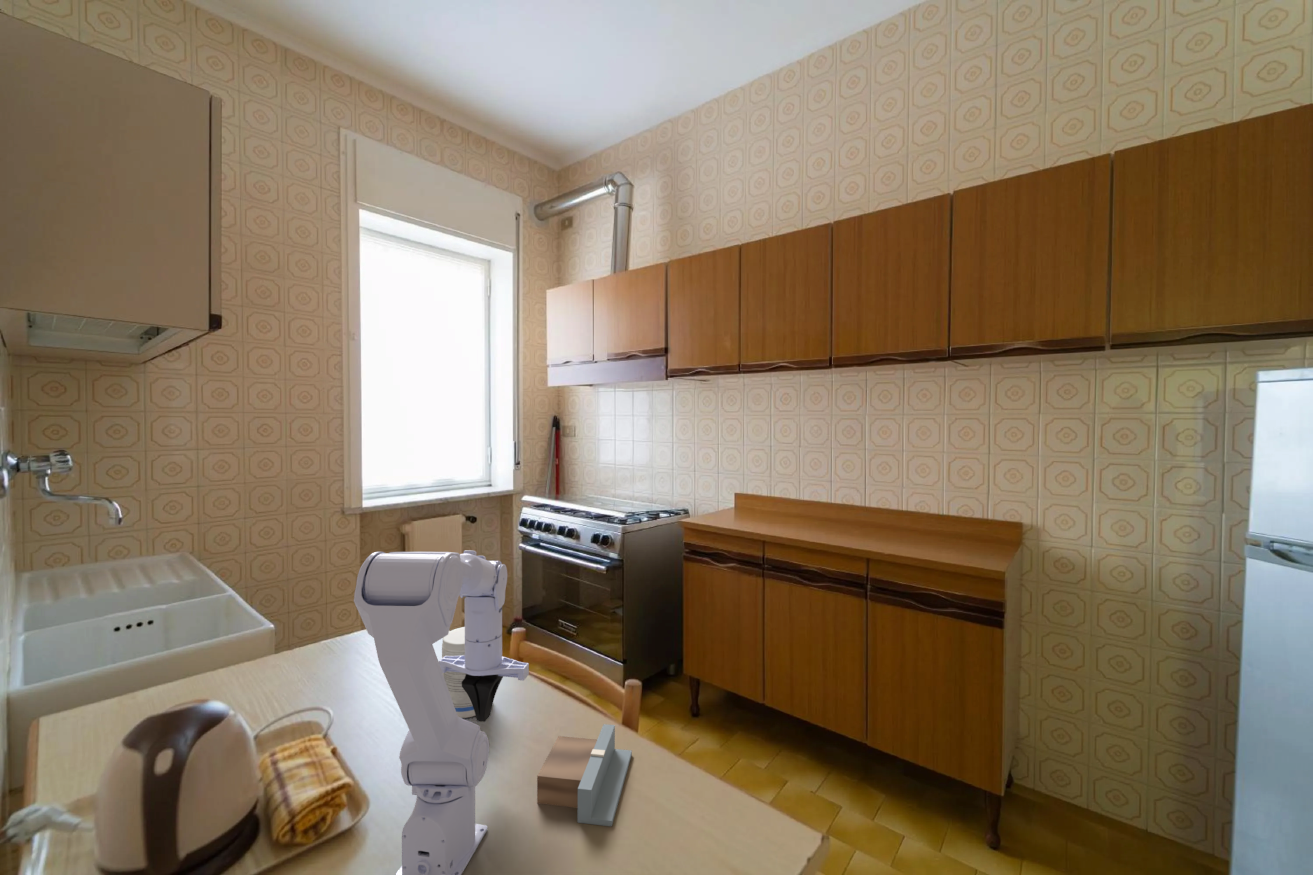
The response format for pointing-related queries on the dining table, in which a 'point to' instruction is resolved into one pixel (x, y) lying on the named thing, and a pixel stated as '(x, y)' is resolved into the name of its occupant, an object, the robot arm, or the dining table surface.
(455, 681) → the supplement tub
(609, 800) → the board
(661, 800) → the dining table surface
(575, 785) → the walnut block
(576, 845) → the dining table surface
